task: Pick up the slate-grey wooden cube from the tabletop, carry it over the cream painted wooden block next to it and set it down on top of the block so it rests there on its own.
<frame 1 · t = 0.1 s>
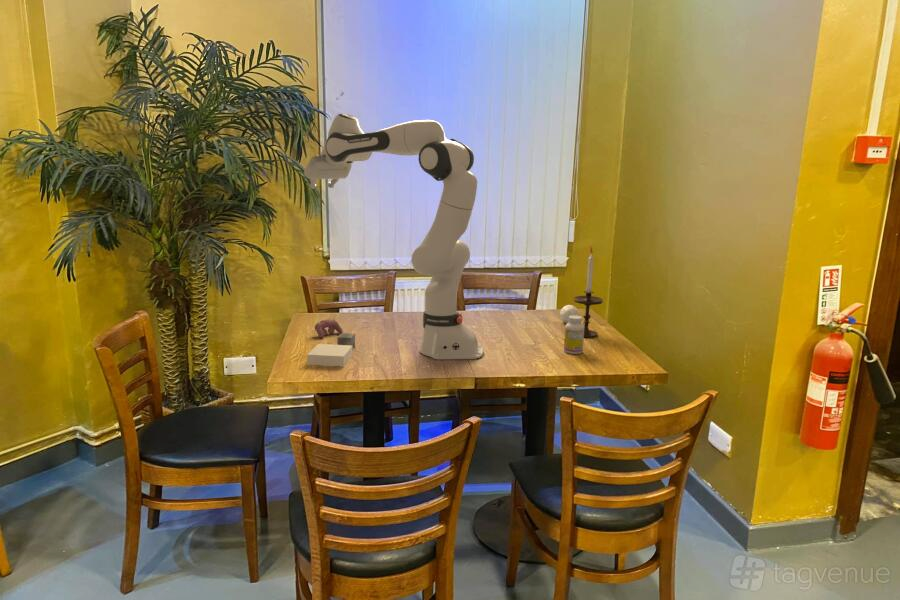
hand: (321, 187, 242), 54 cm above the table, tool tilted 30°, fingers open, 8 cm apart
supplement bottle: (573, 352, 227), on the table
cream block: (330, 361, 212), on the table
video game controller: (328, 335, 241), on the table
slate cube: (346, 349, 225), on the table
geometric ball: (568, 323, 265), on the table
candlestick: (585, 335, 248), on the table
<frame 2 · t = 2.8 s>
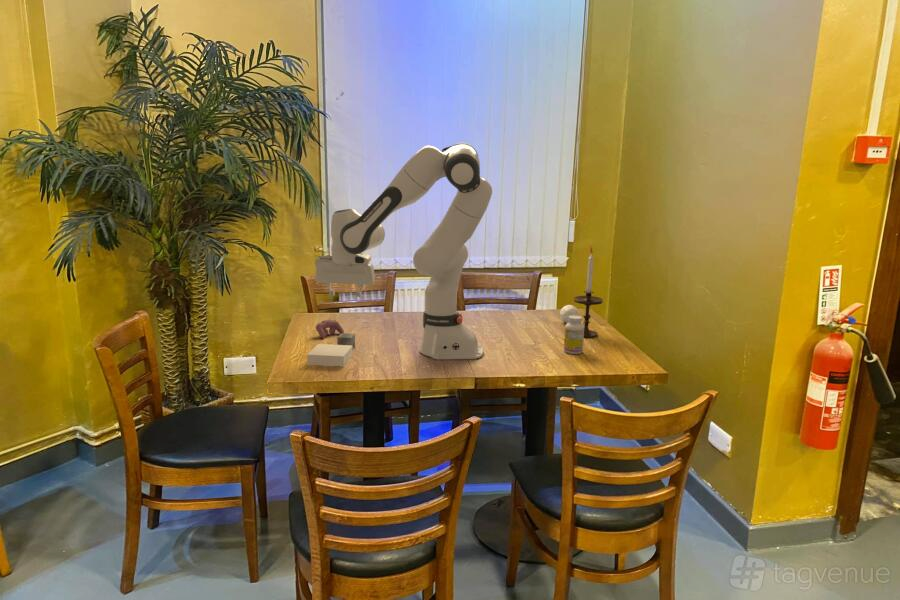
hand: (345, 296, 221), 19 cm above the table, tool pointing down, fingers open, 8 cm apart
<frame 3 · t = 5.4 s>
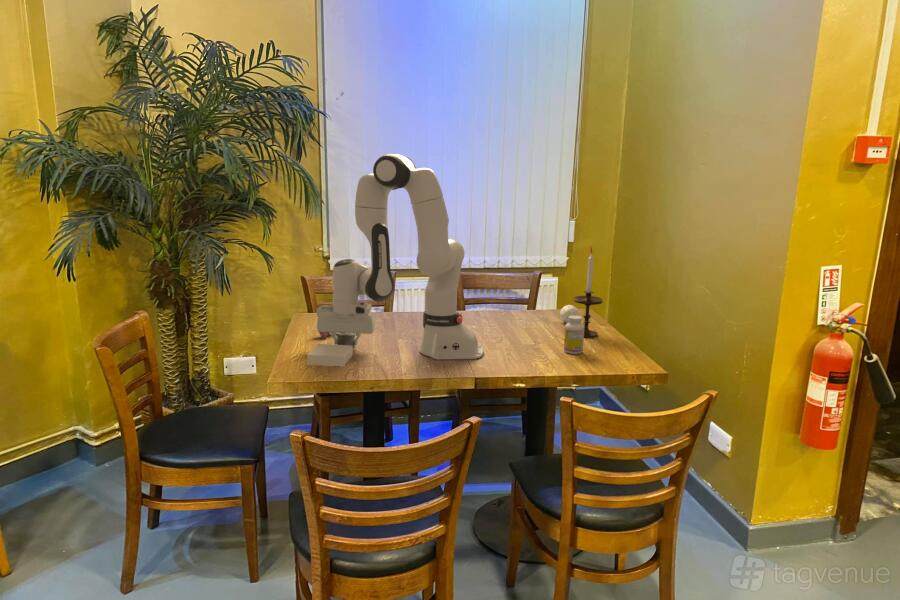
hand: (346, 344, 224), 2 cm above the table, tool pointing down, fingers closed on slate cube, 5 cm apart
slate cube: (346, 348, 225), on the table, touching gripper
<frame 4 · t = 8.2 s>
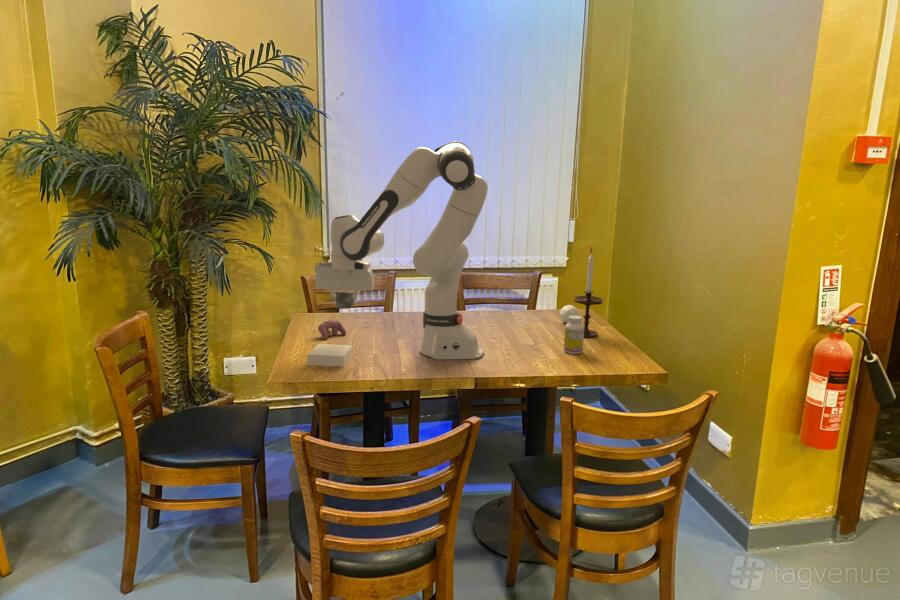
hand: (345, 302, 221), 17 cm above the table, tool pointing down, fingers closed on slate cube, 5 cm apart
slate cube: (345, 306, 221), point 15 cm above the table, touching gripper
when the fingers open (7 cm above the table, at t = 11.3 s): slate cube drops 2 cm, point 4 cm above the table.
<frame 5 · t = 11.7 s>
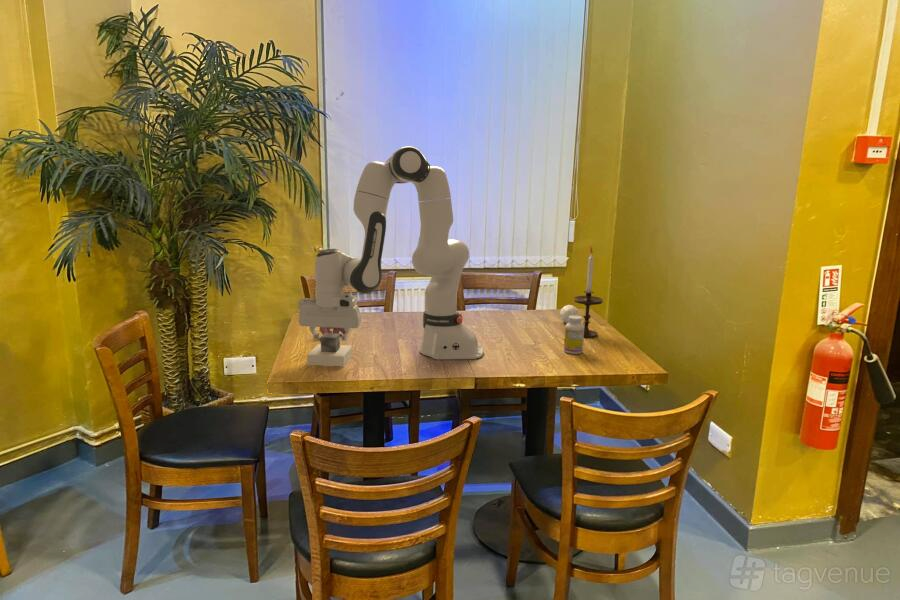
hand: (330, 339, 211), 7 cm above the table, tool pointing down, fingers open, 8 cm apart
slate cube: (330, 349, 212), point 4 cm above the table
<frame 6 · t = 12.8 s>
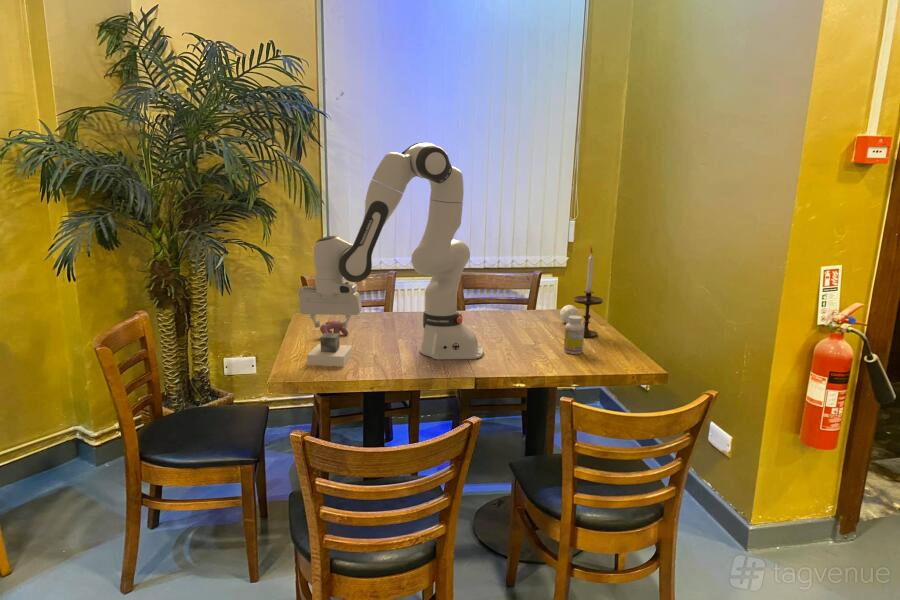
hand: (331, 327, 210), 11 cm above the table, tool pointing down, fingers open, 8 cm apart
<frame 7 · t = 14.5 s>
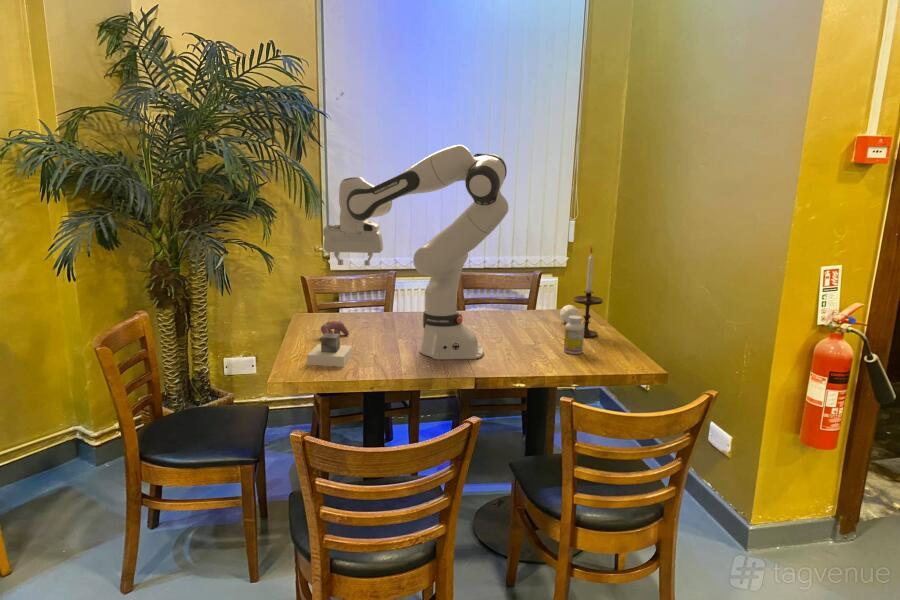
hand: (354, 265, 221), 29 cm above the table, tool pointing down, fingers open, 8 cm apart
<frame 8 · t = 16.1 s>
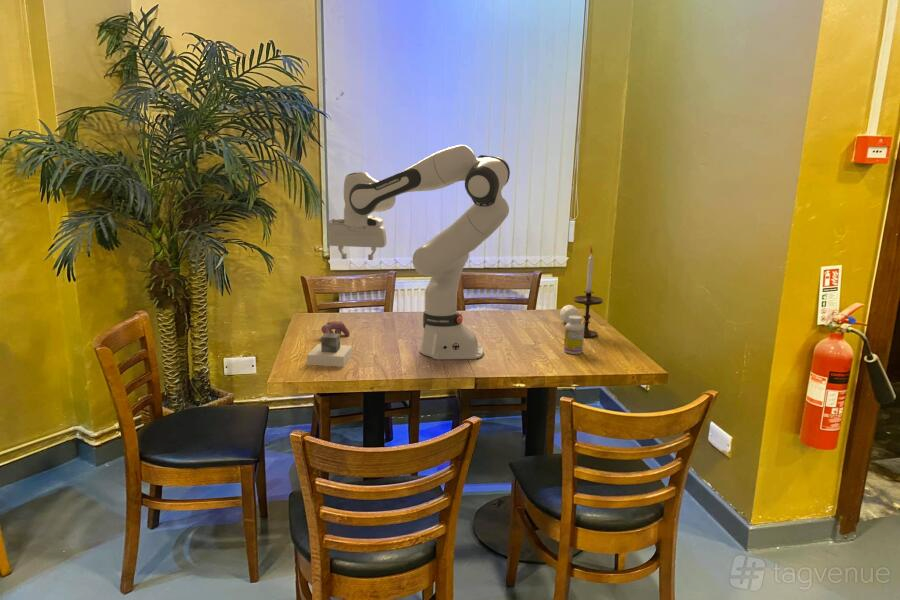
hand: (357, 259, 223), 31 cm above the table, tool pointing down, fingers open, 8 cm apart
cream block: (330, 361, 212), on the table, touching slate cube
slate cube: (330, 350, 212), point 4 cm above the table, touching cream block
at the end: slate cube inside the target area on the cream block (0.2 cm from its centre), point 4.0 cm above the cream block's base; slate cube touching cream block; the gripper is holding nothing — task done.
